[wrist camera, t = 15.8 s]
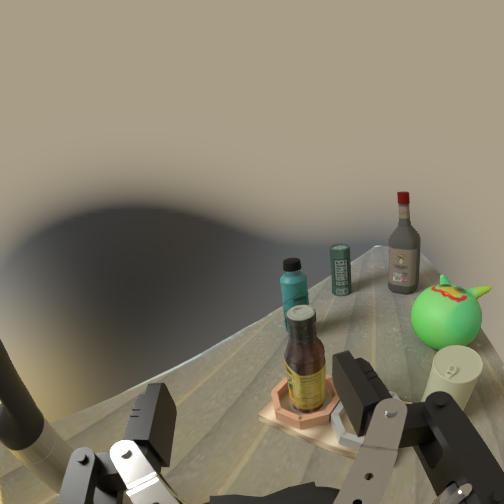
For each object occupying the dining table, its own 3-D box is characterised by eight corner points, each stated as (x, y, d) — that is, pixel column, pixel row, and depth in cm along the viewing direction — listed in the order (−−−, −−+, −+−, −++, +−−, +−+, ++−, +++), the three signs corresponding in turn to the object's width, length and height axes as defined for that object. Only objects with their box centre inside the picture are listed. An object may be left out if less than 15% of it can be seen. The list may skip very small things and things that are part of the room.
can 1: (350, 286, 87) (348, 242, 83) (351, 295, 82) (350, 249, 77) (332, 288, 89) (329, 244, 85) (332, 296, 83) (329, 250, 79)
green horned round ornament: (395, 340, 56) (400, 284, 52) (434, 313, 61) (440, 262, 57) (451, 376, 40) (468, 315, 36) (485, 338, 45) (499, 283, 41)
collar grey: (320, 437, 35) (320, 429, 35) (351, 391, 43) (352, 381, 43) (387, 458, 28) (390, 451, 27) (410, 405, 36) (413, 396, 35)
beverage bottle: (281, 334, 69) (270, 261, 64) (299, 323, 73) (292, 253, 67) (297, 343, 64) (289, 267, 58) (317, 331, 67) (311, 257, 62)
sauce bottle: (294, 389, 47) (283, 298, 41) (327, 390, 45) (325, 297, 39) (286, 415, 41) (273, 322, 36) (322, 417, 39) (321, 322, 33)
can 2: (408, 414, 36) (422, 365, 33) (434, 384, 40) (448, 336, 36) (446, 436, 28) (470, 389, 25) (470, 402, 32) (491, 353, 28)
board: (259, 420, 43) (257, 414, 43) (298, 378, 52) (298, 372, 52) (383, 467, 28) (386, 462, 27) (410, 409, 37) (412, 402, 36)
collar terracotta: (260, 412, 43) (258, 403, 42) (297, 374, 51) (296, 365, 51) (318, 436, 35) (318, 428, 35) (350, 390, 44) (351, 381, 43)
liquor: (412, 296, 72) (414, 195, 64) (386, 291, 79) (384, 194, 70) (419, 283, 78) (420, 190, 70) (394, 280, 85) (392, 190, 76)
